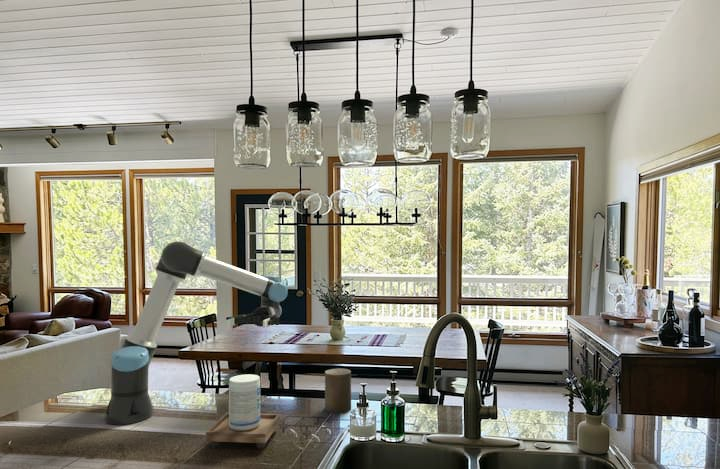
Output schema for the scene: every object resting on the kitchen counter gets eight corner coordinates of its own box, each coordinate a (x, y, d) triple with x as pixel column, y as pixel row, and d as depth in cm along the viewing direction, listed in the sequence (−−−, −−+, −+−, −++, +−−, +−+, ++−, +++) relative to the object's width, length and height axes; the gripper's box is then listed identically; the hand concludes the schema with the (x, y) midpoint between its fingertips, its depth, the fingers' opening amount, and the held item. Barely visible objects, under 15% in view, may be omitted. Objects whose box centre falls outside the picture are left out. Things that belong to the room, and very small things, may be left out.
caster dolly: (205, 449, 133) (205, 432, 133) (226, 428, 149) (226, 412, 149) (265, 451, 131) (265, 434, 132) (280, 429, 147) (280, 414, 148)
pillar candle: (350, 413, 162) (350, 371, 163) (323, 413, 162) (323, 371, 163) (351, 404, 172) (351, 364, 172) (325, 404, 172) (326, 364, 172)
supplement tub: (265, 427, 139) (265, 379, 140) (234, 434, 134) (234, 384, 134) (253, 417, 147) (254, 372, 148) (224, 424, 142) (224, 376, 142)
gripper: (293, 325, 182) (279, 335, 160) (233, 324, 184) (211, 334, 163) (293, 306, 182) (279, 314, 161) (233, 306, 184) (211, 313, 163)
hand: (245, 324), depth 162 cm, fingers open, 13 cm apart
